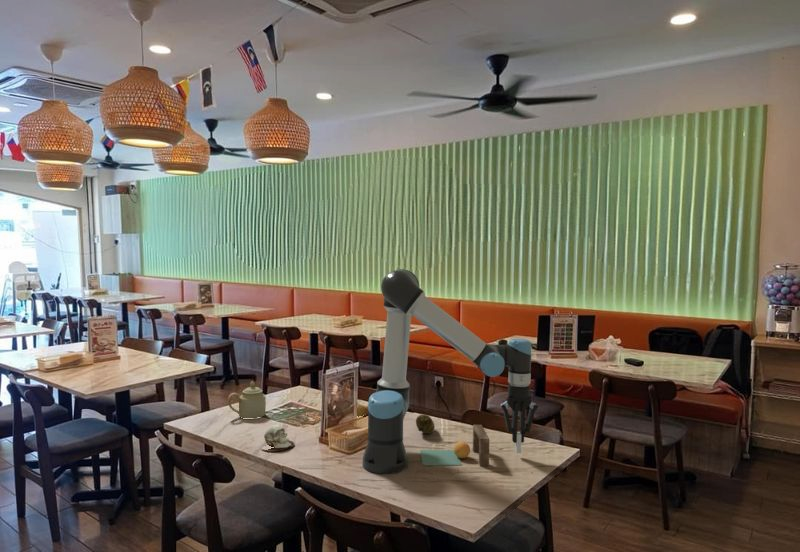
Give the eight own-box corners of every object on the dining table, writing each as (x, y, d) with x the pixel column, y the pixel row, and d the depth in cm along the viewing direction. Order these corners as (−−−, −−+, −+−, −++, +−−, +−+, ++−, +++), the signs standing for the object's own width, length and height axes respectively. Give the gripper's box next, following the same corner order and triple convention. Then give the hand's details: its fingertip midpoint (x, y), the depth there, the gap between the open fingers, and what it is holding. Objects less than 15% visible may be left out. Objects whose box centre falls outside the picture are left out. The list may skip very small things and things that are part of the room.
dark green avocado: (442, 430, 210) (442, 410, 209) (428, 439, 199) (428, 419, 198) (423, 426, 214) (423, 407, 213) (408, 436, 203) (408, 415, 202)
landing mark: (422, 465, 175) (422, 464, 175) (420, 450, 188) (420, 450, 188) (461, 465, 175) (461, 464, 175) (456, 450, 188) (456, 450, 188)
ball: (469, 462, 179) (453, 458, 178) (466, 456, 184) (451, 452, 184) (473, 447, 179) (457, 443, 178) (470, 441, 184) (455, 437, 184)
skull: (303, 441, 192) (289, 426, 186) (287, 467, 187) (272, 452, 181) (281, 433, 199) (267, 418, 193) (264, 457, 194) (250, 443, 187)
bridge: (479, 466, 174) (480, 438, 174) (472, 449, 189) (473, 424, 188) (488, 466, 174) (489, 438, 174) (480, 449, 189) (481, 424, 189)
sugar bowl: (245, 423, 215) (245, 387, 214) (226, 419, 220) (226, 383, 219) (271, 414, 228) (271, 380, 227) (252, 410, 233) (252, 376, 232)
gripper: (503, 386, 177) (501, 455, 178) (541, 387, 177) (539, 455, 178) (498, 381, 185) (496, 447, 185) (534, 381, 185) (533, 447, 186)
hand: (517, 451), depth 182 cm, fingers closed
